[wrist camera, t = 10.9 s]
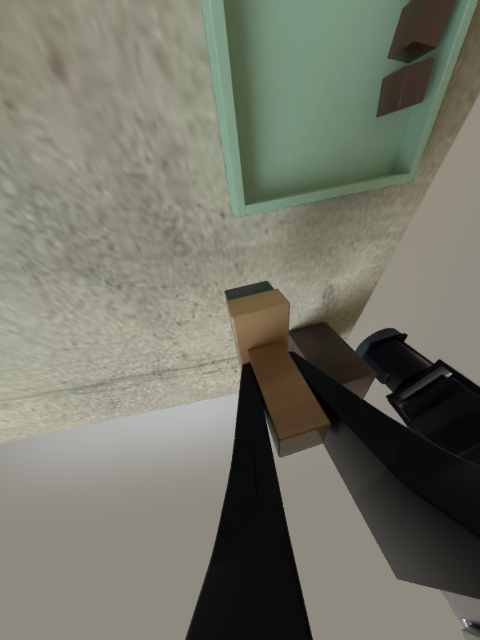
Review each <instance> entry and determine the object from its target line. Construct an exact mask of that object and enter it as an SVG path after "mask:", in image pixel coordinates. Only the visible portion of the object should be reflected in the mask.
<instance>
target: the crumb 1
mask: <svg viewBox="0 0 480 640" xmlns="http://www.w3.org/2000/svg"><path fill="white" fill-rule="evenodd" d="M455 2H456V0H412V1H410V2H409V3H408V4H407V5H406V6H404V7H403V9H402V11H401V14H400V18H399V21H398V24H397V27H396V31H395V34H394V37H393V40H392V43H391V47H390V50H389V53H388V56H387V58H388V59H392V60H396V61H400V62H405V63H410V62H412V61H414V60H416V59H418V58H419V57H421V56H423V55H425V54H427V53H428V52H430V51H432V50H434V49H436V48H437V47H438V45H439V42H440V40H441V37H442V35H443V32H444V30H445V27H446V25H447V22H448V20H449V17H450V15H451V12H452V10H453V7H454V5H455Z"/></svg>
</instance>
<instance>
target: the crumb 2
mask: <svg viewBox="0 0 480 640" xmlns="http://www.w3.org/2000/svg"><path fill="white" fill-rule="evenodd" d="M433 62H434V58H430V59H427V60H423V61H420V62H417V63H413V64H410V65H407V66H405V67H403V68H402V69H400V70H398V71H396V72H394V73H392V74H391V75H389V76H387V77H385V78H383V79H382V84H381V90H380V97H379V103H378V109H377V115H376V117H380V116H384V115H387V114H390V113H393V112H397V111H400V110H403V109H405V108H408V107H411V106H414V105H417V104H420V103H422V102H423V100H424V96H425V92H426V89H427V85H428V81H429V77H430V74H431V70H432V66H433Z"/></svg>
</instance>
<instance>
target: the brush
mask: <svg viewBox="0 0 480 640" xmlns="http://www.w3.org/2000/svg"><path fill="white" fill-rule="evenodd" d="M225 296H226V301H227V302H226V304H227V309H228V313H229V318H230V322H231V327H232V332H233V336H234V341H235V345H236V350H237V354H238V359H239V364H240V368H241V370H242V365H243V364H245V363H248V362H249V363H250V364H251V366H252V369H253V372H254V374H255V377H256V379H257V382H258V385H259V388H260V393H261V398H262V403H263V408H264V413H265V417H266V420H267V423H268V426H269V429H270V432H271V435H272V438H273V441H274V444H275V447H276V450H277V453H278V456H279V457H284V456H287V455H290V454H293V453H296V452H299V451H302V450H305V449H308V448H311V447H314V446H317V445H320V444H322V443H323V442H324V439H325V437H326V434H327V432H328V430H329V427H330V425H331V423H330V421H329V419H328V418H327V416H326V414H325V413H324V411H323V409H322V408H321V406H320V404H319V403H318V401H317V399H316V398H315V396H314V394H313V393H312V391H311V389H310V388H309V386H308V384H307V383H306V381H305V379H304V378H303V376H302V374H301V373H300V371H299V369H298V368H297V366H296V364H295V363H294V361H293V359H292V358H291V356H290V354H289V353H288V338H289V314H290V303H289V301H288V300H287V299H286V298H285V297H284V295H283V294H282V293H281V292H280V291H279V290H278V289H274V288H273V287H272V286H271V284H270V283H269V282H268V281H264V282H260V283H255V284H251V285H247V286H243V287H238V288H234V289H230V290H226V291H225Z"/></svg>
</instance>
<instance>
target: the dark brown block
mask: <svg viewBox="0 0 480 640" xmlns="http://www.w3.org/2000/svg"><path fill="white" fill-rule="evenodd" d="M288 351H294V352H296V353H297V354H298V355H300V356H301V357H303V358H304V359H306V360H307V361H309V362H310V363H311V364H313V365H314V366H316V367H317V368H319V369H320V370H321V371H323V372H324V373H326V374H327V375H329V376H330V377H332V378H333V379H334V380H336V381H337V382H339V383H340V384H342V385H343V386H345V387H346V388H347V389H349V390H350V391H352V392H353V393H355V394H356V395H358V396H359V397H360V398H361V399H364V397H365V395H366V393H367V391H368V390H369V388H370V386H371V384H372V382H373V381H374V379H375V377H376V375H377V373H376V372H375V371H374V370H373V369H372V368H371V367H370V366H369V365H368V364H367V363H366V362H365V361H364V360H363V359H362V358H361V357H360V356H359V355H358V354H357V353H356V352H355V351H354V350H353V349H352V348H351V347H350V346H349V345H348V344H347V343H346V342H345V341H344V340H343V339H342V338H341V337H340V336H339V335H338V334H337V333H336V332H335V331H334V330H333V329H332V328H331V327H330V326H329V325H328V324H327V323H326V322H322V323H318V324H315V325H311V326H307V327H304V328H300V329H296V330H293V331H289V338H288Z"/></svg>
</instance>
